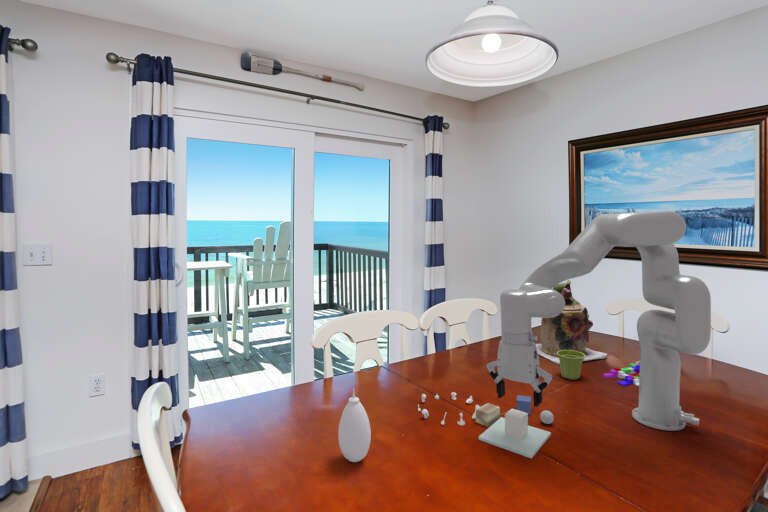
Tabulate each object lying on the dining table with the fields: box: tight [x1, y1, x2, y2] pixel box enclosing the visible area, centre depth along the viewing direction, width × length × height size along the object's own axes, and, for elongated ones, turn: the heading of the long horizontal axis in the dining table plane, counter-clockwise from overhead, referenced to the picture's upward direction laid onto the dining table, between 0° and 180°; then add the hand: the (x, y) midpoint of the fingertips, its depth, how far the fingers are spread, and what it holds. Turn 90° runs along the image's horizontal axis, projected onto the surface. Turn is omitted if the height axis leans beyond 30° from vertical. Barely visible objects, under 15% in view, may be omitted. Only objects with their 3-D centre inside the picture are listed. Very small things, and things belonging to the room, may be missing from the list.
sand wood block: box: [475, 402, 501, 428], centre depth 117 cm, size 4×6×4 cm, turn 132°
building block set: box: [602, 360, 640, 387], centre depth 147 cm, size 25×20×4 cm
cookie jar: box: [535, 279, 608, 365], centre depth 175 cm, size 25×25×32 cm
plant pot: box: [557, 350, 585, 380], centre depth 149 cm, size 9×9×9 cm
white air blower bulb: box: [337, 387, 372, 463], centre depth 98 cm, size 8×8×18 cm
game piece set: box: [417, 391, 481, 426], centre depth 124 cm, size 19×20×4 cm
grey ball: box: [539, 409, 555, 425], centre depth 115 cm, size 4×4×4 cm
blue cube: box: [515, 394, 532, 416], centre depth 123 cm, size 4×4×4 cm
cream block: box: [504, 408, 529, 440], centre depth 108 cm, size 4×4×6 cm
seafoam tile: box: [478, 416, 552, 459], centre depth 108 cm, size 14×14×1 cm
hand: (518, 400), depth 107 cm, fingers open, 9 cm apart
